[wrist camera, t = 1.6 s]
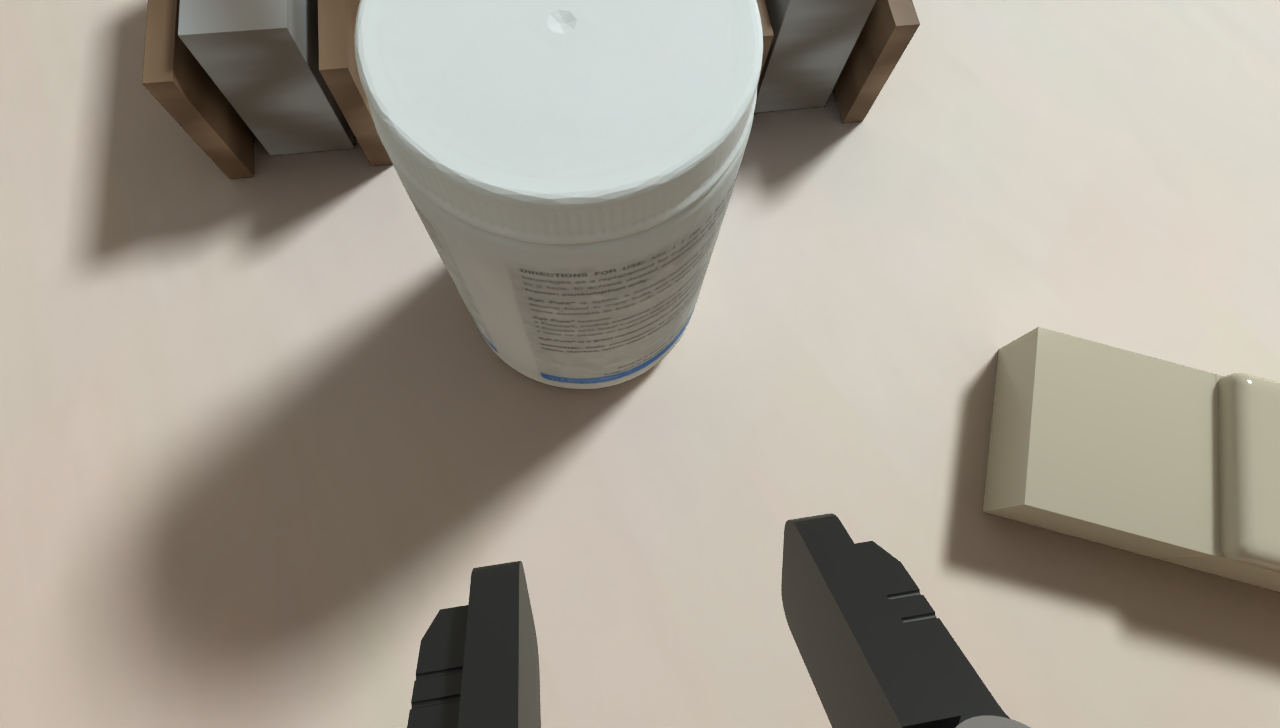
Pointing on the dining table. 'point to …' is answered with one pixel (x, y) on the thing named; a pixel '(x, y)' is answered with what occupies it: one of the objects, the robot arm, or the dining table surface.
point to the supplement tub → (567, 162)
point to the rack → (339, 109)
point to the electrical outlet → (1138, 455)
